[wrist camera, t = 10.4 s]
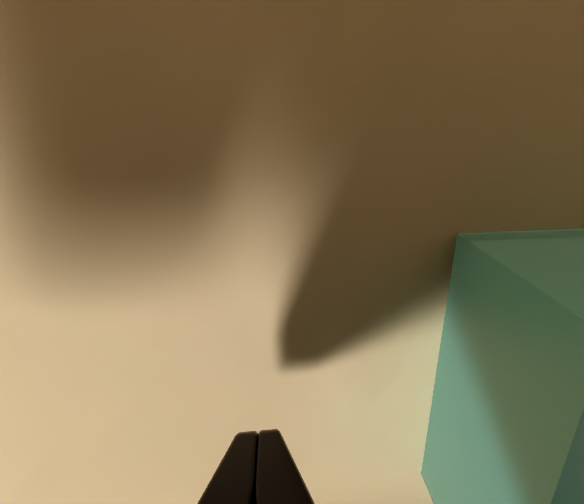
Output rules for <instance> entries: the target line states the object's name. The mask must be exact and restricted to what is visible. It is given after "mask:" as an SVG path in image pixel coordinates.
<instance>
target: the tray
mask: <svg viewBox="0 0 584 504" xmlns="http://www.w3.org/2000/svg"><path fill="white" fill-rule="evenodd" d="M421 474H422V477H423V479H424V481H425V484H426V486H427V489H428V491H429V494H430V496H431V498H432V501H433V503H434V504H584V228H574V229H549V230H525V231H501V232H477V233H457V238H456V244H455V251H454V258H453V264H452V271H451V278H450V285H449V291H448V298H447V305H446V311H445V318H444V325H443V331H442V338H441V345H440V351H439V358H438V365H437V371H436V378H435V385H434V391H433V398H432V405H431V411H430V418H429V425H428V432H427V438H426V445H425V452H424V458H423V465H422V472H421Z"/></svg>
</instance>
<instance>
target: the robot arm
mask: <svg viewBox="0 0 584 504" xmlns="http://www.w3.org/2000/svg"><path fill="white" fill-rule="evenodd" d="M198 504H314V501H313V499H312V497H311V495H310V493H309V491H308V489H307V487H306V485H305V483H304V481H303V479H302V477H301V474H300V472H299V470H298V468H297V466H296V464H295V462H294V460H293V458H292V456H291V454H290V452H289V450H288V447H287V445H286V443H285V441H284V439H283V437H282V435H281V433H280V431H279V430H277V429H272V430H262V431H260V432H259V433H257V432H256V431H250V432H240V433H238V434H237V435H236V436H235V438H234V439H233V441H232V443H231V445H230V447H229V448H228V450H227V452H226V454H225V456H224V457H223V459H222V461H221V463H220V464H219V466H218V468H217V470H216V472H215V473H214V475H213V477H212V479H211V481H210V482H209V484H208V486H207V488H206V489H205V491H204V493H203V495H202V497H201V498H200V500H199V502H198Z"/></svg>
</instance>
